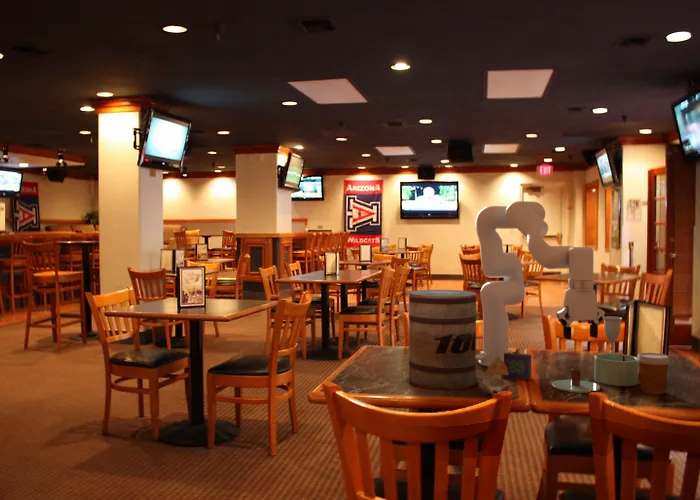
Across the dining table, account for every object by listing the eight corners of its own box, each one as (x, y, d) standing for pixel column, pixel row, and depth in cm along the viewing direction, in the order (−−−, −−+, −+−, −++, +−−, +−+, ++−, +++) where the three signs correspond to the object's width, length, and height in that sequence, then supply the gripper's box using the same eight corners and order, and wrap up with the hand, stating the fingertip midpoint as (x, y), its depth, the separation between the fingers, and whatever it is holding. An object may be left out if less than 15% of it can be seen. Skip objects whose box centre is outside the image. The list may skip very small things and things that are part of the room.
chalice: (623, 367, 237) (623, 319, 236) (603, 366, 238) (604, 318, 238) (619, 363, 244) (619, 316, 243) (600, 362, 245) (600, 316, 245)
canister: (611, 388, 206) (611, 362, 205) (586, 379, 219) (586, 354, 219) (647, 386, 209) (647, 360, 209) (620, 376, 222) (620, 352, 222)
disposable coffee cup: (630, 389, 204) (630, 352, 204) (658, 389, 205) (659, 352, 205) (646, 397, 195) (646, 358, 194) (676, 397, 196) (676, 358, 195)
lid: (568, 396, 197) (568, 376, 197) (543, 384, 211) (543, 366, 211) (610, 393, 200) (610, 373, 200) (582, 382, 215) (582, 363, 214)
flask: (531, 379, 218) (531, 348, 218) (531, 381, 216) (531, 349, 215) (503, 377, 221) (503, 347, 221) (503, 379, 218) (503, 348, 218)
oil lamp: (511, 386, 208) (511, 356, 208) (510, 404, 187) (510, 370, 187) (484, 385, 210) (484, 355, 210) (480, 402, 190) (480, 369, 189)
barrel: (471, 391, 202) (472, 297, 201) (402, 386, 209) (402, 295, 208) (479, 376, 223) (479, 290, 222) (416, 371, 230) (416, 288, 229)
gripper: (596, 283, 212) (596, 335, 212) (550, 285, 207) (550, 337, 208) (611, 285, 204) (611, 338, 205) (564, 286, 200) (563, 341, 200)
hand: (580, 338), depth 206 cm, fingers open, 9 cm apart
